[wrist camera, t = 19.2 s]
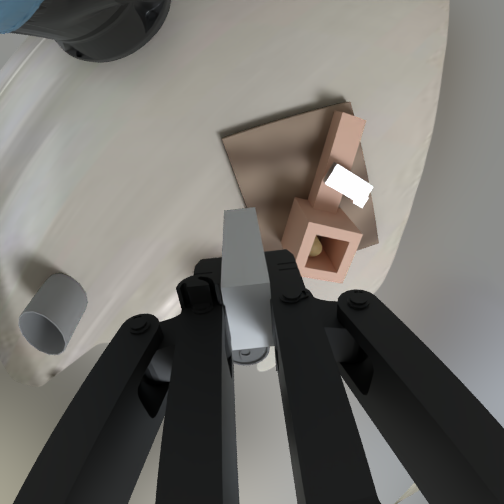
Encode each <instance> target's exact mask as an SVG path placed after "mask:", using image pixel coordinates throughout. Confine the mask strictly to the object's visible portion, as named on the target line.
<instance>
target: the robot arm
mask: <svg viewBox="0 0 504 504" xmlns="http://www.w3.org/2000/svg"><path fill="white" fill-rule="evenodd" d="M170 3H171V0H0V34H5V33H16V34H24V35H30V36H37V37H43V38H48V39H54V40H55V41H56V42H57V43H58V44H59V46H60V47H61V48H62V49H63V50H64V51H65V52H66V53H68V54H69V55H71V56H73V57H75V58H77V59H80V60H84V61H90V62H109V61H114V60H117V59H121V58H123V57H126V56H128V55H130V54H132V53H133V52H135V51H137V50H138V49H140V48H141V47H142V46H144V45H145V44H146V43H147V42H148V41H149V40H150V39H152V37H153V36H154V35H155V34H156V33H157V32H158V30H159V29H160V27H161V26H162V24H163V23H164V21H165V19H166V17H167V14H168V11H169V8H170ZM176 290H177V294H178V297H179V301H180V305H181V308H182V311H181V314H180V315H178V316H176V317H174V318H171V319H168V320H165V321H162V322H159V320H158V318H156V317H155V316H154V315H151V314H139V315H136V316H133V317H131V318H129V319H128V320H126V321H125V322H124V323H123V324H122V326H121V327H120V329H119V330H118V332H117V333H116V334H115V336H114V337H113V339H112V340H111V342H110V343H109V345H108V346H107V348H106V349H105V351H104V352H103V354H102V355H101V357H100V358H99V360H98V361H97V363H96V364H95V366H94V367H93V369H92V370H91V372H90V373H89V375H88V376H87V378H86V379H85V381H84V382H83V384H82V386H81V387H80V389H79V391H78V392H77V393H76V395H75V397H74V398H73V400H72V401H71V403H70V404H69V406H68V408H67V409H66V411H65V413H64V414H63V416H62V418H61V419H60V421H59V423H58V424H57V426H56V427H55V429H54V431H53V432H52V434H51V436H50V438H49V439H48V441H47V443H46V444H45V446H44V448H43V450H42V451H41V453H40V455H39V456H38V458H37V460H36V462H35V464H34V465H33V467H32V469H31V471H30V473H29V474H28V476H27V478H26V480H25V482H24V484H23V486H22V487H21V489H20V491H19V493H18V495H17V497H16V499H15V501H14V503H13V504H128V502H129V500H130V497H131V495H132V492H133V490H134V487H135V485H136V482H137V480H138V478H139V475H140V473H141V470H142V468H143V466H144V463H145V461H146V458H147V456H148V454H149V451H150V449H151V446H152V444H153V442H154V439H155V437H156V435H157V432H158V430H159V427H160V425H161V423H162V420H163V418H164V416H165V418H164V426H163V435H162V442H161V452H160V461H159V470H158V479H157V491H156V502H155V504H239V488H238V470H237V469H238V468H237V446H236V424H235V397H234V396H235V395H234V365H233V357H232V352H231V346H232V350H241V349H251V348H260V347H269V346H275V359H276V371H278V377H279V383H280V389H281V396H282V403H283V410H284V416H285V423H286V429H287V436H288V442H289V449H290V455H291V463H292V469H293V476H294V483H295V489H296V496H297V504H381V503H380V501H379V499H378V497H377V493H376V490H375V486H374V483H373V479H372V476H371V472H370V469H369V465H368V462H367V458H366V456H365V452H364V449H363V445H362V442H361V438H360V435H359V432H358V429H357V425H356V422H355V419H354V416H353V413H352V410H351V406H350V404H349V400H348V397H347V394H346V391H345V388H344V385H343V382H342V379H341V376H342V378H343V379H344V381H345V382H346V384H347V385H348V387H349V388H350V389H351V391H352V392H353V394H354V395H355V397H356V398H357V399H358V401H359V403H360V404H361V405H362V407H363V408H364V410H365V411H366V413H367V414H368V416H369V417H370V418H371V420H372V421H373V423H374V424H375V425H376V427H377V429H378V430H379V431H380V433H381V434H382V436H383V437H384V439H385V440H386V442H387V443H388V445H389V446H390V447H391V449H392V450H393V452H394V453H395V455H396V456H397V458H398V459H399V461H400V462H401V463H402V465H403V466H404V468H405V469H406V470H407V472H408V474H409V475H410V476H411V478H412V479H413V481H414V482H415V484H416V485H417V487H418V488H419V490H420V491H421V493H422V494H423V495H424V497H425V498H426V500H427V501H428V503H429V504H504V428H503V427H502V426H501V425H500V424H499V423H498V422H497V420H496V419H495V418H494V417H493V416H492V415H491V414H490V413H489V411H488V410H487V409H486V408H485V407H484V406H483V405H482V404H481V403H480V401H479V400H478V399H477V398H476V397H475V396H474V395H473V394H472V393H471V392H470V391H469V390H468V389H467V387H466V386H465V385H464V384H463V383H462V382H461V381H460V380H459V379H458V378H457V377H456V376H455V375H454V374H453V373H452V372H451V371H450V369H449V368H448V367H447V366H446V365H445V364H444V363H443V362H442V361H441V360H440V359H439V358H438V357H437V356H436V355H435V354H434V353H433V352H432V351H431V350H430V349H429V348H428V347H427V346H426V345H425V344H424V343H423V342H422V341H421V340H420V339H419V338H418V337H417V336H416V335H415V334H414V333H413V332H412V331H411V330H410V329H409V328H408V327H407V326H406V325H405V324H404V323H403V322H402V321H401V320H400V319H399V318H398V317H397V316H396V315H395V314H394V313H393V312H392V311H391V310H389V308H387V307H386V306H385V305H384V304H383V303H382V302H381V301H380V300H379V299H378V298H377V297H376V296H375V295H373V294H372V293H370V292H367V291H364V290H349V291H346V292H344V293H342V294H341V295H340V296H339V298H338V302H336V301H325V300H320V299H317V298H315V297H313V295H312V293H311V292H310V291H309V290H308V289H306V288H305V285H304V283H303V280H302V277H301V274H300V271H299V269H298V266H297V263H296V260H295V257H294V255H293V254H292V253H291V252H290V251H288V250H287V249H283V250H274V251H265V252H264V250H263V245H262V240H261V235H260V230H259V225H258V220H257V215H256V210H255V207H252V208H243V209H234V210H226V211H224V225H223V246H222V257H220V258H211V259H202V260H200V261H199V263H198V264H197V265H196V266H195V270H194V275H193V276H190V277H188V278H186V279H184V280H182V281H181V282H180V283H179V284H178V285H177V287H176Z"/></svg>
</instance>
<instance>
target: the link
mask: <svg viewBox="0 0 504 504" xmlns="http://www.w3.org/2000/svg"><path fill="white" fill-rule="evenodd" d="M365 123H366V120H363V119H361V118H358V117H355V116H352V115H350V114H347V113H344V112H340V111H334V114H333V118H332V121H331V124H330V128H329V131H328V135H327V138H326V141H325V145H324V148H323V151H322V155H321V158H320V161H319V165H318V168H317V171H316V174H315V178H314V181H313V184H312V187H311V190H310V194H309V197H308V200H305V199H301V198H297V197H295V198H294V201H293V204H292V208H291V211H290V214H289V217H288V221H287V224H286V227H285V230H284V234H283V237H282V240H281V244H282V247H283V249H287V250H288V251H290V252H291V253H292V254H293V255H294V257H295V260H296V263H297V266H298V269H299V271H300V274H301V276H302V277H307V278H313V279H319V280H325V281H331V282H337V283H343V281H344V279H345V277H346V274H347V272H348V270H349V267H350V265H351V263H352V260H353V258H354V255H355V253H356V251H357V248H358V246H359V243H360V241H361V238H362V236H363V234H362V233H361V232H360V230H359V229H358V228H357V227H356V226H355V224H354V223H353V222H352V221H351V220H350V218H349V217H348V216H347V215H346V214H345V213H344V211H343V210H342V209H341V208H338V207H339V204H340V201H341V198H342V195H343V193H341V192H339V191H338V190H336V189H334V188H332V187H331V186H329V185H327V184H325V183H324V181H323V179H324V177H325V176H326V174H327V172H328V171H329V169H330V167H331V166H332V164H333V162H335V163H337V164H339V165H340V166H342V167H344V168H345V169H347V170H348V171H351V168H352V165H353V162H354V159H355V156H356V153H357V149H358V146H359V143H360V140H361V137H362V133H363V130H364V127H365ZM316 235H320V236H322V238H321V241H320V243H321V245H322V251H321V253H320V254H319V255H317V256H313V257H312V256H309V253H310V251H311V248H312V245H313V242H314V239H315V237H316Z"/></svg>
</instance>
